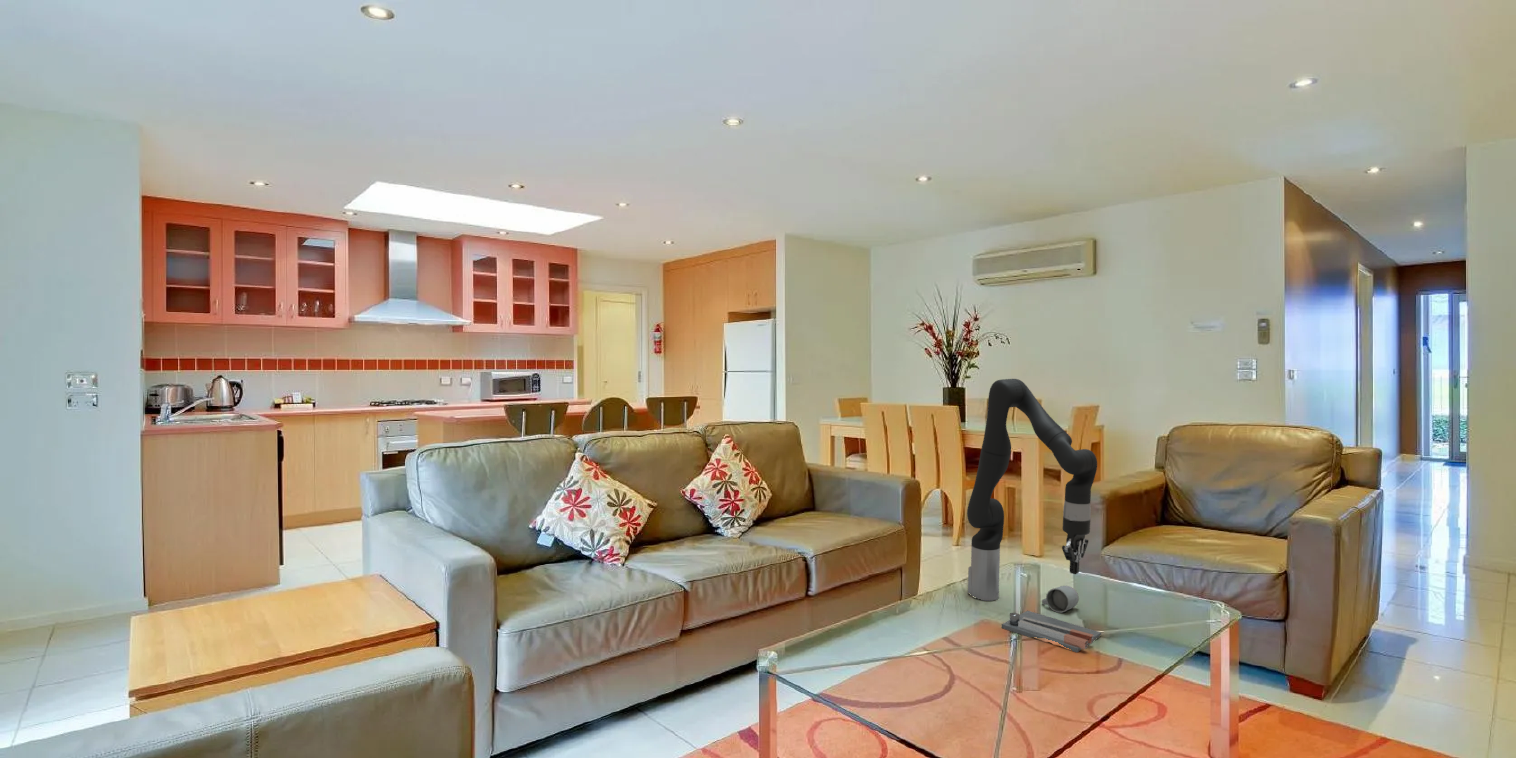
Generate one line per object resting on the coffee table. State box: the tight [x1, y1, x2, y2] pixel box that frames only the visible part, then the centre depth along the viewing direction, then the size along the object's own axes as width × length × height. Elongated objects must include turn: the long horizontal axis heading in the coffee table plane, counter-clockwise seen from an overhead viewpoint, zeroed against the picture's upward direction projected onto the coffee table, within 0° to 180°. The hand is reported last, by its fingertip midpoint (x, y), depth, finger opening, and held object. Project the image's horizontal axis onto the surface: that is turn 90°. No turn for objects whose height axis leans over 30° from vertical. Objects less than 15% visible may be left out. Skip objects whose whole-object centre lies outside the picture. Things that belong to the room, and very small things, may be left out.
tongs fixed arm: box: [1009, 612, 1089, 650], centre depth 217 cm, size 24×3×3 cm, turn 43°
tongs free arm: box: [1022, 617, 1094, 645], centre depth 218 cm, size 20×2×2 cm, turn 49°
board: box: [1001, 610, 1102, 653], centre depth 222 cm, size 23×16×1 cm
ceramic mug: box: [1041, 585, 1080, 614], centre depth 241 cm, size 11×8×8 cm
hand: (1074, 573), depth 221 cm, fingers closed
